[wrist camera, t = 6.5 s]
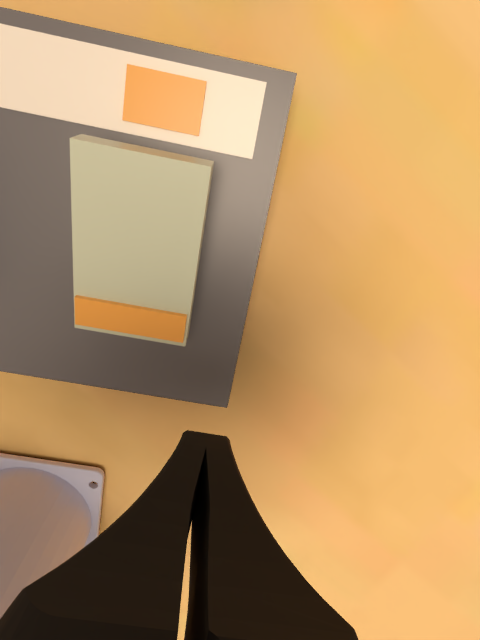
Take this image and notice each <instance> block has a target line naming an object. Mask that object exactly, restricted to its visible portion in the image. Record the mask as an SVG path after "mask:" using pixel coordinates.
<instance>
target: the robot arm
mask: <svg viewBox="0 0 480 640" xmlns="http://www.w3.org/2000/svg"><path fill="white" fill-rule="evenodd" d="M93 481H94V482H96V483H97V484H94V483H92V482H93ZM103 486H104V472H103V470H102V469H100V468H97V467H92V466H85V465H78V464H72V463H65V462H58V461H51V460H44V459H38V458H31V457H24V456H17V455H11V454H4V453H0V640H177V634H178V624H179V613H180V603H181V592H182V582H183V573H184V563H185V554H186V545H187V538H188V534H189V530H190V526H191V521H192V532H191V556H190V581H189V601H188V613H187V621H186V629H185V637H184V640H358V637H357V635H356V632H355V630H354V628H353V627H352V626H351V625H350V624H349V623H347V622H346V621H345V620H344V619H343V618H342V617H341V616H340V615H339V614H338V613H337V612H336V611H335V610H334V609H333V608H332V607H331V606H330V605H329V604H328V603H327V602H326V601H325V600H324V599H323V598H322V597H321V596H320V595H319V594H318V593H317V592H316V591H315V589H314V588H313V587H312V586H311V585H310V584H309V583H308V582H307V581H306V580H305V578H304V577H303V576H302V575H301V573H300V572H299V571H298V570H297V568H296V567H295V566H294V564H293V563H292V562H291V561H290V559H289V558H288V557H287V556H286V554H285V553H284V552H283V550H282V549H281V547H280V546H279V544H278V543H277V541H276V540H275V539H274V537H273V535H272V534H271V532H270V531H269V529H268V527H267V526H266V524H265V523H264V521H263V519H262V517H261V516H260V514H259V512H258V510H257V508H256V506H255V504H254V503H253V501H252V499H251V497H250V494H249V492H248V490H247V488H246V486H245V484H244V481H243V479H242V477H241V474H240V472H239V469H238V467H237V464H236V461H235V458H234V455H233V452H232V449H231V445H230V440H229V439H228V438H227V437H226V436H220V435H214V434H207V433H201V432H194V431H188V430H187V431H185V432H184V433H183V435H182V437H181V440H180V442H179V444H178V446H177V447H176V449H175V451H174V452H173V454H172V456H171V457H170V459H169V460H168V462H167V463H166V464H165V466H164V467H163V469H162V470H161V471H160V473H159V474H158V475H157V477H156V478H155V479H154V480H153V482H152V483H151V484H150V485H149V486H148V488H147V489H146V490H145V491H144V492H143V494H142V495H141V496H140V497H139V498H138V499H137V500H136V501H135V502H134V503H133V504H132V506H131V507H130V508H129V509H128V510H127V511H126V512H125V513H124V514H123V515H121V516H120V517H119V518H118V519H117V520H116V521H115V522H114V523H113V524H112V525H111V526H109V527H108V528H107V529H106V530H105V531H104V532H103V533H102V534H100V535H99V527H100V516H101V506H102V496H103Z"/></svg>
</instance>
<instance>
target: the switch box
mask: <svg viewBox="0 0 480 640" xmlns="http://www.w3.org/2000/svg"><path fill="white" fill-rule="evenodd" d="M296 75H297V73H293V72H289V71H284V70H280V69H275V68H271V67H267V66H262V65H258V64H253V63H249V62H244V61H240V60H235V59H231V58H226V57H222V56H217V55H213V54H208V53H204V52H199V51H195V50H191V49H186V48H182V47H177V46H173V45H168V44H164V43H159V42H155V41H150V40H146V39H141V38H137V37H132V36H128V35H124V34H119V33H115V32H110V31H106V30H101V29H97V28H92V27H88V26H83V25H79V24H74V23H70V22H65V21H61V20H56V19H52V18H48V17H43V16H39V15H34V14H30V13H25V12H21V11H16V10H12V9H7V8H3V7H0V371H3V372H9V373H15V374H21V375H27V376H33V377H40V378H46V379H52V380H58V381H64V382H70V383H77V384H83V385H89V386H95V387H101V388H108V389H114V390H120V391H126V392H132V393H138V394H145V395H151V396H157V397H163V398H169V399H176V400H182V401H188V402H194V403H200V404H206V405H213V406H219V407H225V408H227V406H228V401H229V397H230V392H231V387H232V382H233V377H234V373H235V368H236V363H237V358H238V353H239V349H240V344H241V339H242V334H243V329H244V325H245V320H246V315H247V310H248V305H249V301H250V296H251V291H252V286H253V281H254V277H255V272H256V267H257V262H258V257H259V253H260V248H261V243H262V238H263V233H264V229H265V224H266V219H267V214H268V209H269V205H270V200H271V195H272V190H273V185H274V181H275V176H276V171H277V166H278V161H279V157H280V152H281V147H282V142H283V137H284V133H285V128H286V123H287V118H288V113H289V109H290V104H291V99H292V94H293V90H294V85H295V80H296ZM80 134H84V135H89V136H94V137H99V138H104V139H108V140H113V141H118V142H123V143H128V144H133V145H138V146H143V147H148V148H152V149H157V150H162V151H167V152H172V153H177V154H182V155H187V156H191V157H196V158H201V159H206V160H211V161H214V165H213V172H212V179H211V186H210V192H209V199H208V206H207V213H206V219H205V226H204V233H203V240H202V247H201V253H200V260H199V267H198V274H197V280H196V287H195V294H194V301H193V307H192V314H191V321H190V328H189V334H188V338H187V342H186V346H179V345H173V344H167V343H161V342H155V341H150V340H144V339H138V338H132V337H126V336H120V335H114V334H109V333H103V332H97V331H91V330H85V329H79V328H75V326H74V287H73V249H72V211H71V173H70V138H71V137H74V136H77V135H80Z"/></svg>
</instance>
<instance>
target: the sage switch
mask: <svg viewBox="0 0 480 640" xmlns="http://www.w3.org/2000/svg"><path fill="white" fill-rule="evenodd" d="M213 165H214V161H211V160H206V159H201V158H196V157H191V156H187V155H182V154H177V153H172V152H167V151H162V150H157V149H152V148H148V147H143V146H138V145H133V144H128V143H123V142H118V141H113V140H108V139H104V138H99V137H94V136H89V135H84V134H80V135H77V136H74V137H71V138H70V173H71V211H72V249H73V287H74V326H75V328H79V329H85V330H91V331H97V332H103V333H109V334H114V335H120V336H126V337H132V338H138V339H144V340H150V341H155V342H161V343H167V344H173V345H179V346H186V342H187V338H188V334H189V328H190V321H191V314H192V307H193V301H194V294H195V287H196V280H197V274H198V267H199V260H200V253H201V247H202V240H203V233H204V226H205V219H206V213H207V206H208V199H209V192H210V186H211V179H212V172H213Z"/></svg>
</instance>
